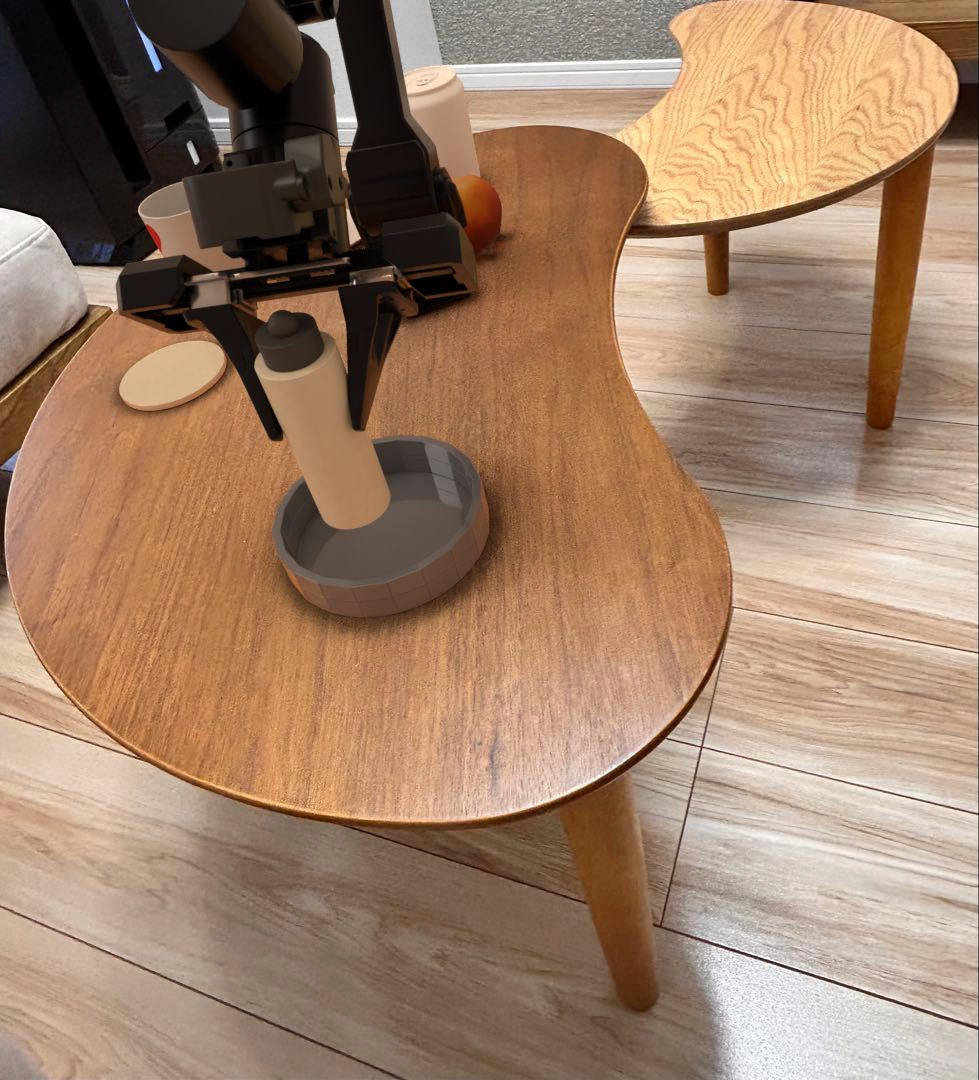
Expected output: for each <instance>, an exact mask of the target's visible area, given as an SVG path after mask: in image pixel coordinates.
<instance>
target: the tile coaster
mask: <svg viewBox="0 0 979 1080" xmlns="http://www.w3.org/2000/svg"><path fill="white" fill-rule="evenodd" d="M227 360H228V359H227V357H226V353H225V351H224V349H223V348H222V347H221V346H219V345H218V344H216V343H214V342H212V341H207V340H187V341H186V340H185V341H181V342H177V343H173V344H169V345H167V346H165V347H161V348H159V349H157V350H155V351H152V352H151V353H149V354H148V355H146V356H144V357H143V358H141V359H140V360H138V361H137V362H136V363H134V364H133V365H132V366H131V367H130V368H129V369H128V370H127V371H126V373H125V374H124V375H123V377H122V379H121V381H120V383H119V387H118V388H119V390H118V391H119V395H120V398H121V399H122V401H123V402H124V403H125V405H127V406H128V407H130V408H132V409H134V410H138V411H144V412H147V411H148V412H154V411H162V410H167V409H172V408H175V407H179V406H181V405H184V404H187V403H188V402H190V401H192V400H194V399H197V398H198V397H200V396H201V395H203V394H205V393H206V392H207V391H208V390H210V389H211V388H212V387H213V386H215V384H216V383H218V382H219V380H220V379H221V377H222V376H223V374H224V373H225V371H226V368H227V363H228V362H227Z"/></svg>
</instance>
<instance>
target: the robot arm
mask: <svg viewBox="0 0 979 1080" xmlns="http://www.w3.org/2000/svg"><path fill="white" fill-rule="evenodd" d="M126 2H127V5H128V10H129V13H130V16H131V17H132V20H133V21H134V23H135V25H136V27H137V28H138V29H139V31H141V33H142V34H143V35H144V36H145V38H147V39H148V40H149V41H150V42H151V43H152V44H153V45H154V47H156V48H157V49H158V50H159V51H160V52H161V53H162V54H163V55H164V56H165V57H166V58H167V59H168V60H169V61H170V62H171V64H173V65H174V66H175V67H176V68H177V69H178V70H179V71H180V72H181V73H182V74H183V75H184V76H185V77H186V78H187V79H188V80H189V81H190V82H191V83H192V84H193V85H194V86H195V87H196V88H197V89H198V90H199V91H200V92H201V93H202V94H203V95H204V96H205V97H206V98H207V99H208V100H209V101H212V102H213V103H215V104H217V106H221V107H223V108H225V109H226V108H227V113H228V114H227V115H228V121H229V122H228V123H229V133H230V141H231V142H230V143H231V151H229V152H225V153H223V154H222V155H223V160H222V165H221V167H222V170H219V171H211V172H206V173H201V174H196V175H190V176H189V175H188V176H186V177H182V179H181V182H183V185H184V189H185V193H186V197H187V201H188V205H189V209H190V213H191V217H192V220H193V224H194V228H195V232H196V236H197V240H198V244H199V248H200V249H207V248H213V247H219V246H222V252H223V253H224V254H226V255H227V256H229V257H230V258H232V259H235V258H241V260H243V262H244V266H242V267H241V268H235V269H228V270H222V271H216V272H214V271H212V270H210V269H209V268H207V267H205V266H204V265H202V264H200V263H198V262H197V261H195V260H193V259H192V258H190V257H188V256H186V255H185V254H183V255H177V256H171V257H159V258H153V259H146V260H140V261H133V262H127V263H125V265H124V266H123V268H122V270H121V271H120V273H119V275H118V277H117V279H116V282H115V293H116V304H117V310H118V315H119V316H122V317H123V318H126V319H129V320H132V321H134V322H137V323H140V324H142V325H145V326H147V327H149V328H152V329H155V330H158V331H160V332H163V333H166V334H169V335H170V334H171V335H186V334H191V333H199V332H200V333H201V332H206V333H208V334H211V335H212V336H213V337H214V339H215V340H216V341H217V342H218V343H219V344H220V347H221V348H222V350H223V351H224V353H225V354H226V355H227V357H228V358H229V360H230V361H231V364H232V365H233V366H234V368H235V370H236V372H237V374H238V376H239V378H240V380H241V382H242V384H243V386H244V388H245V391H246V393H247V395H248V397H249V399H250V401H251V404H252V405H253V407H254V410H255V411H256V414H257V416H258V418H259V420H260V422H261V424H262V427H263V429H264V431H265V433H266V435H267V437H268V439H269V440H270V441H271V442H276V443H278V442H283V441H284V437H285V435H284V432H283V430H282V428H281V426H280V424H279V421H278V419H277V417H276V415H275V413H274V410H273V408H272V406H271V404H270V402H269V399H268V397H267V395H266V393H265V391H264V388H263V386H262V384H261V382H260V380H259V377H258V375H257V373H256V371H255V360H256V358H257V356H258V354H259V353H260V351H259V348H258V346H257V344H256V341H255V335H256V332H257V331H258V329H259V328H260V327H261V326H262V325H263V324H265V323H266V322H267V321H264V320H262V319H261V318H258V312H257V311H258V310H259V307H258V303H261V302H268V301H274V300H282V299H288V298H294V297H295V298H296V297H301V296H302V297H303V296H309V295H316V294H323V293H328V292H336V291H337V293H338V297H339V301H340V305H341V310H342V314H343V317H344V318H343V319H344V324H345V332H346V335H345V336H346V337H345V338H346V363H347V365H346V368H347V369H346V370H347V374H348V400H349V408H350V415H351V421H352V427H353V430H354V431H357V432H362V431H365V429H366V427H367V425H368V422H369V419H370V415H371V412H372V407H373V404H374V401H375V397H376V393H377V390H378V388H379V387H378V386H379V384H380V380H381V377H382V372H383V370H384V366H385V362H386V361H387V358H388V355H389V353H390V350H391V348H392V345H393V344H394V341H395V339H396V337H397V334H398V331H399V330H400V327H401V324H402V323H403V320H404V319H405V318H406V319H412V318H414V317H417V316H421V315H422V314H426V313H429V312H432V311H435V310H437V309H440V308H443V307H446V306H449V305H451V304H455V303H458V302H460V301H462V300H466V299H468V298H470V297H471V295H472V294H471V293H473V292H475V291H477V290H479V279H478V278H479V277H478V268H477V260H476V259H477V258H476V257H475V254H474V249H473V246H472V244H471V242H470V240H469V239H468V237H467V235H466V233H465V231H464V230H463V229H464V228H465V227H467V219H466V214H465V210H464V206H463V202H462V199H461V197H460V194H459V192H458V189H457V187H456V184H455V183H454V182H453V181H452V179H451V178H450V176H449V174H448V172H447V170H446V168H445V167H440V164H439V159H438V155H437V150H436V146H435V144H434V142H433V141H432V140H431V139H430V137H429V136H428V135H427V134H426V132H425V131H424V130H423V129H422V127H421V126H420V125H419V124H418V122H417V121H416V120H415V119H414V117H413V116H412V115H411V111H410V106H409V101H408V96H407V90H406V85H405V79H404V68H403V64H402V57H401V52H400V47H399V42H398V37H397V32H396V26H395V21H394V15H393V9H392V4H391V0H126ZM330 20H335V25H336V29H337V34H338V39H339V43H340V49H341V52H342V57H343V62H344V67H345V72H346V76H347V81H348V85H349V86H348V87H349V90H350V95H351V99H352V104H353V109H354V114H355V118H356V124H357V127H356V130H355V134H354V137H353V140H352V143H351V146H350V150H348V151H347V153H346V156H345V162H344V166H345V169H346V174H347V177H348V178H347V177H346V176H344V174H343V165H342V156H341V147H340V138H339V129H338V119H337V109H336V100H335V99H336V98H335V94H336V89H335V85H334V81H333V72H332V61H331V58H330V55H329V53H328V52H327V51H326V50H325V49H324V48H323V47H322V45H321V43H320V42H318V41H317V40H316V39H315V38H314V37H312V36H311V35H310V34H308V33H306V32H304V31H301V30H300V29H299V27H303V26H308V25H312V24H318V23H324V22H329V21H330ZM346 200H347V202H346ZM347 207H348V209H349V211H350V214H351V217H352V220H353V222H354V224H355V227H356V229H357V231H358V233H359V235H360V238H361V240H362V241H361V242H362V244H363V246H364V248H357V249H352V247H351V248H350V240H349V231H348V221H347V212H346V209H347ZM271 281H272V282H271ZM273 281H275V282H273ZM268 282H269V283H268Z"/></svg>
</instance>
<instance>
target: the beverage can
mask: <svg viewBox="0 0 979 1080" xmlns="http://www.w3.org/2000/svg"><path fill="white" fill-rule="evenodd" d="M403 74H404V79H405V85H406V90H407V96H408V101H409V106H410V111H411V115H412V116H413V117H414V119H415V120H416V121H417V122H418V124H419V125H420V126H421V127H422V129H423V130H424V131H425V132H426V134H427V135H428V136H429V137H430V139H431V140H432V141H433V142H434V144H435V146H436V150H437V155H438V159H439V164H440V167H445V168H446V170H447V172H448V174H449V176H450V178H451V179H454V178H457V177H460V176H466V175H475V176H478V177H481V172H480V171H481V170H480V167H479V161H478V157H477V150H476V145H475V139H474V135H473V129H472V125H471V119H470V113H469V108H468V102H467V98H466V91H465V88H464V87H465V86H464V84H463V81H462V79H460V77H459V76H457V71H456V69H455V68H454V67H451V66H449V65H428V66H424V67H417V68H414V69H412V70H409V71H406V72H403ZM481 178H482V177H481Z"/></svg>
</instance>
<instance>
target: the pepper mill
mask: <svg viewBox="0 0 979 1080" xmlns="http://www.w3.org/2000/svg"><path fill="white" fill-rule="evenodd" d="M265 322H266V323H265V324H263V325H262V326H261V327H260V328H259V329H258V331H257V332H256V335H255V341H256V344H257V346H258V348H259V351H260V353H259V354H258V356H257V358H256V360H255V371H256V373H257V375H258V377H259V380H260V382H261V384H262V386H263V388H264V391H265V393H266V395H267V397H268V399H269V402H270V404H271V406H272V408H273V410H274V413H275V415H276V417H277V419H278V421H279V424H280V426H281V428H282V430H283V432H284V437H285V439H286V442H287V444H288V446H289V448H290V450H291V452H292V454H293V457H294V459H295V461H296V463H297V465H298V468H299V470H300V472H301V474H302V475H303V477H304V479H305V481H306V483H307V485H308V488H309V490H310V492H311V494H312V496H313V499H314V501H315V503H316V505H317V507H318V510H319V512H320V514H321V516H322V518H323V520H324V521H325V522H326V523H327V524H328V525H330V526H332V527H334V528H337V529H355V528H359V527H363V526H365V525H368V524H370V523H371V522H373V521H375V520H376V519H378V518H379V517H380V516H381V515H382V514H383V513H384V512H385V511H386V509H387V507H388V505H389V503H390V498H391V495H390V490H389V488H388V485H387V482H386V479H385V477H384V474H383V471H382V468H381V466H380V463H379V460H378V457H377V455H376V452H375V449H374V446H373V444H372V441H371V439H372V437H371V435H370V432H369V430H368V427H367V426H366V429H365V431H362V432H357V431H354V430H353V427H352V421H351V415H350V408H349V400H348V371H347V369H346V366H345V364H344V360H343V359H342V356H341V352H340V349H339V347H338V345H337V341H336V340H335V338H334V337H333V336H332V335H331V334H329V333H328V332H326V331H323V330H320V329H319V326H318V323H317V321H316V319H315V317H314V316H313V315H312V314H309V313H307V312H300V311H294V312H292V311H290V310H286V309H279V310H276V311H274V312H272V313H271V314H270V316H269V317H268V319H267V321H265Z"/></svg>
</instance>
